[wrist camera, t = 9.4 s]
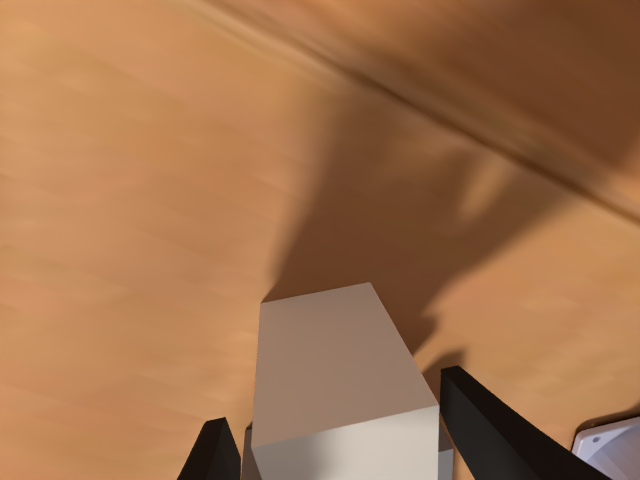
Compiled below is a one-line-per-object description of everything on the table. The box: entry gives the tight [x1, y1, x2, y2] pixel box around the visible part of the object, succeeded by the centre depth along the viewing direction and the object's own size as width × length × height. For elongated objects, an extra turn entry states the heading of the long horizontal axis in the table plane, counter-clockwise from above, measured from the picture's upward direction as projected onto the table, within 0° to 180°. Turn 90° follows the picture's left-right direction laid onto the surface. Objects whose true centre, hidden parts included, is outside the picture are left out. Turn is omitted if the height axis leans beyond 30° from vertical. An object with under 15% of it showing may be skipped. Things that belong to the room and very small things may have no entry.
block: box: [251, 282, 439, 480], centre depth 11 cm, size 5×5×6 cm
